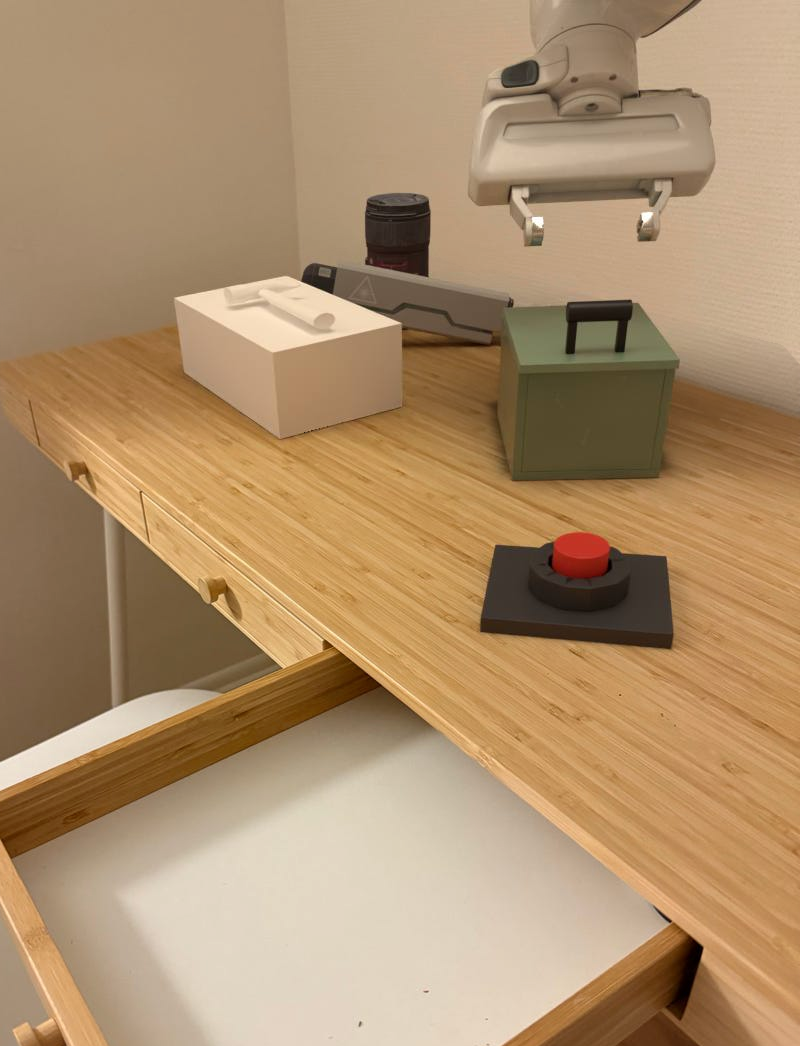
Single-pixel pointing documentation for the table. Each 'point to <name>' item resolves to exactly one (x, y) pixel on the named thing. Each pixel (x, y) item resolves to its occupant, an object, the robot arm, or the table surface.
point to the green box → (582, 421)
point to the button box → (579, 599)
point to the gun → (415, 299)
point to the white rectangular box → (291, 354)
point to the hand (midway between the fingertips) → (591, 240)
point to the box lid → (586, 338)
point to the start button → (580, 555)
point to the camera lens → (398, 232)
